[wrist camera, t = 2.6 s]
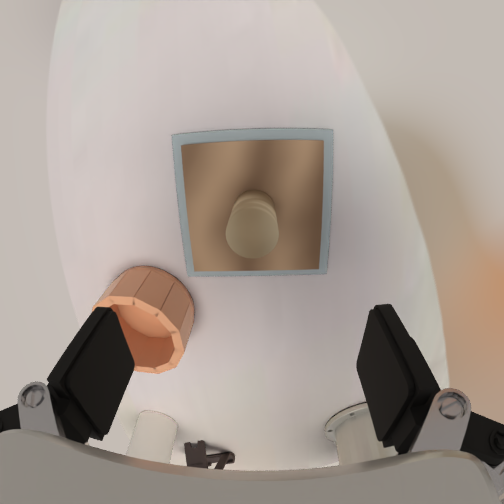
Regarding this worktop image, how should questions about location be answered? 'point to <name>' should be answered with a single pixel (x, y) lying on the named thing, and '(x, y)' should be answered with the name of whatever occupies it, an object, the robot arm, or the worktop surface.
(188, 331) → the terracotta bowl
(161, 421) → the cylindrical container
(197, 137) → the slate mat
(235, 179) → the square wooden lid
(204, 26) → the worktop surface
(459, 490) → the robot arm
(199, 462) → the portable electronic device stand
